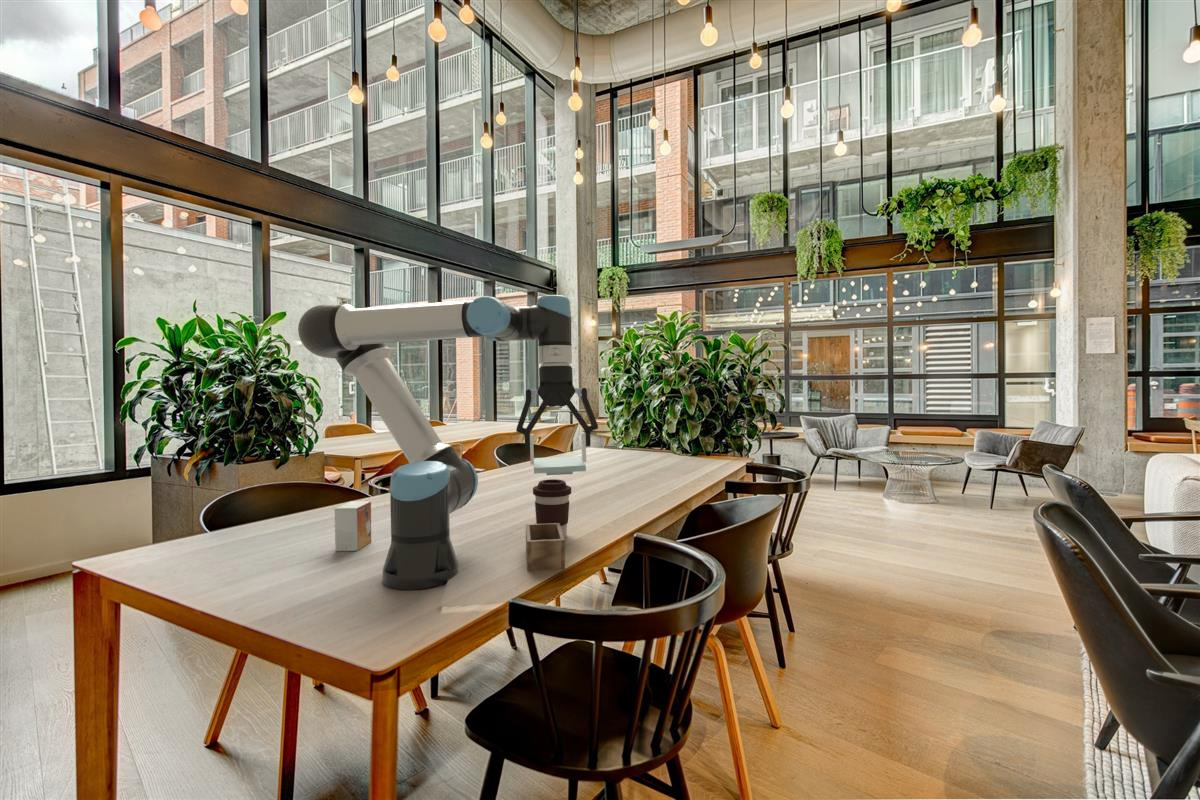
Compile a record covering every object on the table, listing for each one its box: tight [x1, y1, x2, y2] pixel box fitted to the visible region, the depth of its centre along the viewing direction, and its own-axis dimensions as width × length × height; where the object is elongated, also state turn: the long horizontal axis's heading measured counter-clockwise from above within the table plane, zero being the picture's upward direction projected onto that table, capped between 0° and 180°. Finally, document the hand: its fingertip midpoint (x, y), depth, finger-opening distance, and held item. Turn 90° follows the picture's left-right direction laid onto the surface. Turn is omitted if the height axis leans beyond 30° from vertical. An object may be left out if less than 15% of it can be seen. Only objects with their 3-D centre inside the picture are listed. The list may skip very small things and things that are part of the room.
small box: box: [334, 500, 372, 552], centre depth 134 cm, size 8×6×10 cm
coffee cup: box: [532, 478, 572, 539], centre depth 141 cm, size 10×10×15 cm
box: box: [525, 523, 566, 572], centre depth 123 cm, size 8×14×7 cm, turn 9°
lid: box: [533, 455, 587, 476], centre depth 123 cm, size 11×15×2 cm
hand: (558, 462), depth 123 cm, fingers closed on lid, 11 cm apart
